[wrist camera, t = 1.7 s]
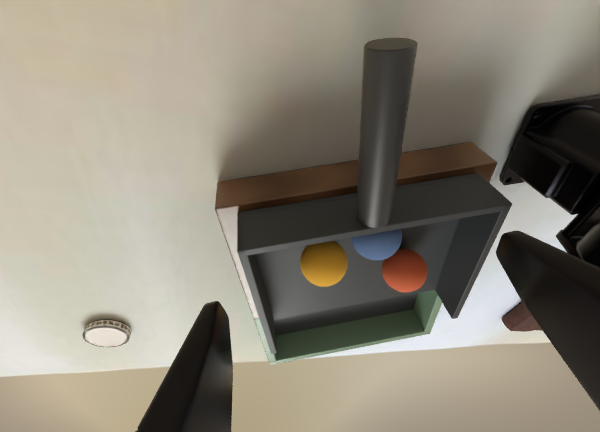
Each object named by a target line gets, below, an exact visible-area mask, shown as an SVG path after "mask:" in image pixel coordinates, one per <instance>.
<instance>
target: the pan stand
mask: <svg viewBox="0 0 600 432" xmlns="http://www.w3.org/2000/svg"><path fill="white" fill-rule="evenodd" d="M496 164H497V162H496V161H495V160H494V159H492V158H491V157H490V156H488V155H487V154H486V153H485V152H483V151H482V150H481V149H479V148H478V147H477V146H476V145H474V144H473V143H472V142H468V143H462V144H456V145H449V146H443V147H437V148H431V149H424V150H418V151H412V152H405V153H401V157H400V163H399V170H398V177H397V183H396V186H401V185H407V184H413V183H419V182H425V181H431V180H437V179H443V178H449V177H455V176H461V175H467V174H473V173H478V174H480V175H481V176H482V177H483V178H484V179H485V180H486V181H487V182H488V183H489V182H490V179H491V177H492V174H493V172H494V169H495V167H496ZM358 166H359V160H355V161H349V162H342V163H336V164H330V165H324V166H317V167H311V168H305V169H298V170H292V171H286V172H279V173H273V174H267V175H261V176H254V177H248V178H242V179H235V180H229V181H223V182H218V183H217V193H216V204H215V210H216V213H217V216H218V219H219V222H220V224H221V227H222V230H223V233H224V236H225V239H226V241H227V244H228V247H229V250H230V253H231V256H232V258H233V261H234V264H235V267H236V270H237V273H238V275H239V278H240V281H241V284H242V287H243V290H244V292H245V295H246V298H247V301H248V304H249V306H250V309H251V312H252V315H253V318H259V316H258V313H257V310H256V307H255V304H254V301H253V298H252V295H251V291H250V288H249V285H248V282H247V279H246V276H245V273H244V270H243V267H242V264H241V261H240V258H239V255H238V252H237V213H238V212H244V211H250V210H256V209H262V208H268V207H274V206H280V205H286V204H292V203H298V202H304V201H310V200H316V199H322V198H328V197H334V196H340V195H346V194H352V193H357V187H358Z"/></svg>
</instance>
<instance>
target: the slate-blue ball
mask: <svg viewBox="0 0 600 432" xmlns="http://www.w3.org/2000/svg"><path fill="white" fill-rule="evenodd" d="M351 241H352V244H353V246H354V248H355V249H356V251H357V252H358V253H359V254H360V255H362V256H363V257H365V258H367V259H370V260H384V259H387V258H389V257H391V256H392V255H393V254H394V253H395V252H396V251H397V250H398V249H399V247H400V244H401V241H402V231H401V229H397V230H391V231H385V232H380V233H374V234H368V235H363V236H357V237H351Z"/></svg>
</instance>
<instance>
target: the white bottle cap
mask: <svg viewBox="0 0 600 432" xmlns="http://www.w3.org/2000/svg"><path fill="white" fill-rule="evenodd" d="M130 335H131V330H130V328H129V327H128V326H127V325H125V324H123V323H121V322H117V321H112V320H100V321H95V322H92V323H90V324H88V325H87V326H86V327H85V330H84V332H83V338H84V340H85V341H86V342H88V343H90V344H92V345H95V346H100V347H116V346H120V345H123V344H125V343H126V342H128V340H129V338H130Z"/></svg>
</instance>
